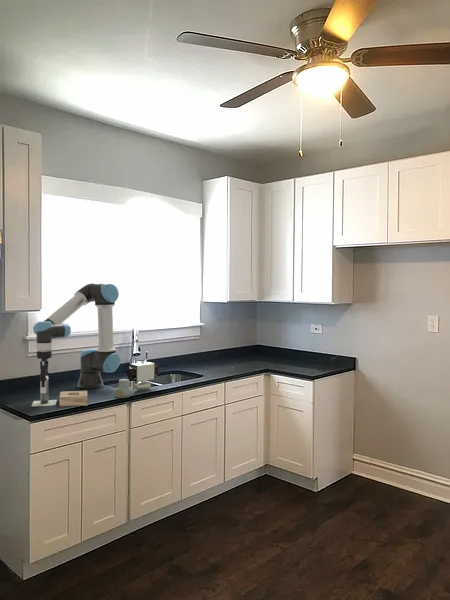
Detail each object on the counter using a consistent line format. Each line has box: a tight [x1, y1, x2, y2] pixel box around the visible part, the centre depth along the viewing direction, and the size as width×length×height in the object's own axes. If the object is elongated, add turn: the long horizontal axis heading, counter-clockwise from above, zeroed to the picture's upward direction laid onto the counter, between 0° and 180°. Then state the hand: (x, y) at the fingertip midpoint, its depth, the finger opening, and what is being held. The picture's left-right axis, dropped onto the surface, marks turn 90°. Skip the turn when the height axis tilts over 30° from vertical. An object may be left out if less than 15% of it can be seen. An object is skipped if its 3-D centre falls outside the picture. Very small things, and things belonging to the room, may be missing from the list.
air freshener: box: [113, 378, 135, 399], centre depth 283 cm, size 11×8×10 cm
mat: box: [30, 399, 58, 407], centre depth 266 cm, size 12×12×1 cm
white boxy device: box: [126, 360, 159, 392], centre depth 301 cm, size 18×8×18 cm, turn 129°
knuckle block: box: [58, 390, 88, 407], centre depth 268 cm, size 14×14×5 cm
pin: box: [39, 375, 49, 404], centre depth 266 cm, size 4×4×14 cm
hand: (44, 390), depth 266 cm, fingers open, 13 cm apart
